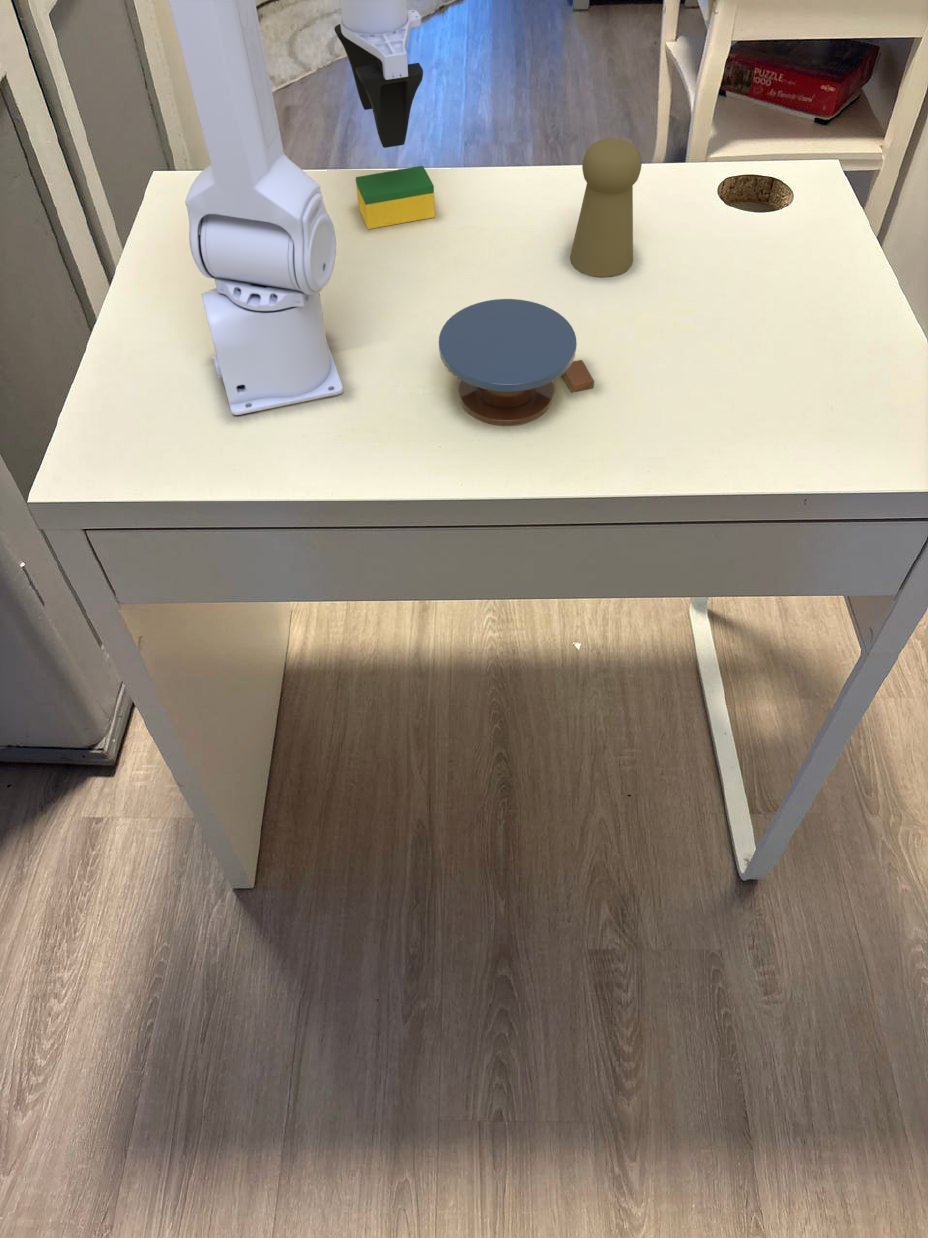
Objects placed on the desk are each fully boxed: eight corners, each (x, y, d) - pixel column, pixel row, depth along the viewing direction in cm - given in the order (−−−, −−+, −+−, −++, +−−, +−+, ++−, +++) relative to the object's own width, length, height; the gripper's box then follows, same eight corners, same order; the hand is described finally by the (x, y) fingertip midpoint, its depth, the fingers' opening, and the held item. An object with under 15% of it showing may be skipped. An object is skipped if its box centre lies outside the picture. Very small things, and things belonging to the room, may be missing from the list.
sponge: (367, 229, 98) (364, 197, 96) (358, 208, 101) (355, 176, 98) (435, 217, 99) (433, 184, 97) (424, 197, 102) (423, 165, 99)
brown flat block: (594, 380, 83) (593, 389, 83) (582, 359, 84) (581, 367, 85) (572, 385, 82) (571, 393, 83) (560, 363, 84) (559, 372, 85)
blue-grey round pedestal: (462, 450, 79) (461, 396, 74) (425, 366, 85) (422, 312, 81) (591, 422, 80) (597, 368, 76) (545, 342, 87) (548, 288, 82)
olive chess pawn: (632, 242, 96) (648, 129, 87) (633, 278, 93) (649, 164, 84) (571, 239, 97) (580, 127, 88) (568, 275, 93) (578, 161, 84)
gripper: (440, -11, 79) (444, 155, 90) (395, -74, 87) (404, 85, 98) (354, 0, 78) (369, 167, 89) (317, -64, 86) (335, 95, 97)
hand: (383, 125), depth 93 cm, fingers open, 7 cm apart
